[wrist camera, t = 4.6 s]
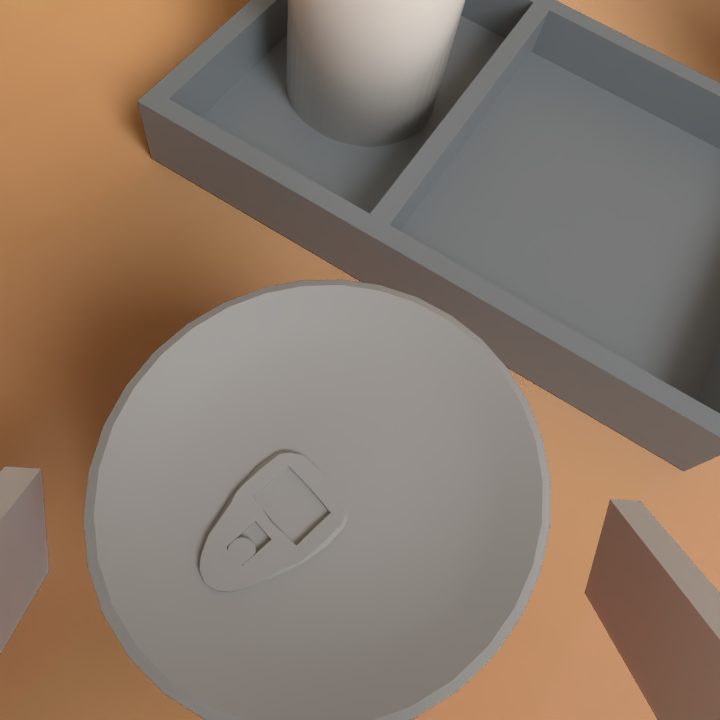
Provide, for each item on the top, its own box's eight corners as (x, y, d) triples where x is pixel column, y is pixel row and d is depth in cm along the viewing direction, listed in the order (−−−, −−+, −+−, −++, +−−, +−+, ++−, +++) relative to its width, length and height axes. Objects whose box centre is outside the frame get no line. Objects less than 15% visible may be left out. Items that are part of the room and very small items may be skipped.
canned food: (123, 609, 19) (-36, 564, 9) (272, 401, 23) (271, 205, 13) (339, 757, 18) (415, 879, 8) (462, 518, 22) (620, 405, 12)
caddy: (151, 157, 26) (137, 101, 24) (353, -36, 33) (360, -98, 30) (684, 471, 23) (737, 447, 21) (788, 189, 30) (839, 143, 27)
